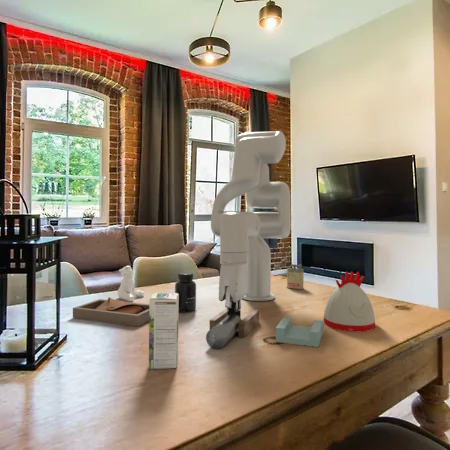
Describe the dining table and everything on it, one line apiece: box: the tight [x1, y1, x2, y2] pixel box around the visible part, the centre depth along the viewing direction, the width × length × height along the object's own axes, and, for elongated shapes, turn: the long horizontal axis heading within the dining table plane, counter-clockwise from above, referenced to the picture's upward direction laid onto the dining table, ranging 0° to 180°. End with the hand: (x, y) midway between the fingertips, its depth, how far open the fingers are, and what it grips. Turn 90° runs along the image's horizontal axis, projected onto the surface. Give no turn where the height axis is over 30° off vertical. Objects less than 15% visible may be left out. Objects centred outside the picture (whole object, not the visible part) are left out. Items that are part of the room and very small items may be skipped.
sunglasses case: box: [96, 297, 146, 323], centre depth 112 cm, size 18×7×7 cm, turn 54°
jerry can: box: [286, 263, 305, 290], centre depth 153 cm, size 7×4×10 cm, turn 60°
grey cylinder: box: [205, 314, 243, 350], centre depth 92 cm, size 13×5×5 cm, turn 160°
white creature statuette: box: [117, 265, 145, 303], centre depth 135 cm, size 10×9×12 cm
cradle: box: [275, 316, 324, 348], centre depth 93 cm, size 10×10×4 cm
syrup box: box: [148, 291, 180, 370], centre depth 77 cm, size 6×6×14 cm
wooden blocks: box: [209, 307, 260, 338], centre depth 101 cm, size 14×10×4 cm
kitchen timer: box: [323, 271, 376, 332], centre depth 105 cm, size 14×14×15 cm
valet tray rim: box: [72, 298, 149, 328], centre depth 112 cm, size 12×23×3 cm, turn 69°
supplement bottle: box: [174, 271, 197, 313], centre depth 119 cm, size 7×7×12 cm
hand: (234, 324), depth 100 cm, fingers closed
